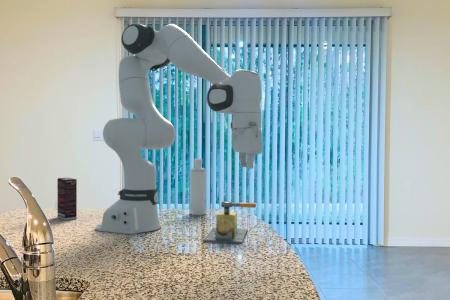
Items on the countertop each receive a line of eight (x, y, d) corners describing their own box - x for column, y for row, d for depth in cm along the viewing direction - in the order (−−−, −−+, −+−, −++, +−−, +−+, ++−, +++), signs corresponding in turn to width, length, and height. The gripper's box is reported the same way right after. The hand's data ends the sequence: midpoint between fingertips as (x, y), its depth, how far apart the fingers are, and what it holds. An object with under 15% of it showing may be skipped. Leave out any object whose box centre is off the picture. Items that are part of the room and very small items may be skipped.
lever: (220, 207, 125) (220, 202, 125) (222, 205, 129) (222, 201, 129) (255, 208, 124) (255, 204, 123) (256, 206, 127) (256, 202, 127)
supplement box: (77, 219, 153) (77, 178, 152) (64, 220, 150) (64, 179, 149) (69, 215, 159) (68, 177, 159) (56, 217, 156) (56, 178, 155)
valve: (203, 242, 120) (203, 211, 119) (213, 229, 136) (213, 202, 136) (241, 244, 118) (242, 212, 117) (247, 231, 134) (247, 203, 134)
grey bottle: (187, 214, 164) (187, 155, 163) (195, 211, 170) (195, 154, 169) (200, 215, 161) (200, 155, 160) (208, 213, 167) (208, 155, 166)
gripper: (268, 121, 110) (267, 170, 110) (247, 124, 130) (247, 165, 130) (246, 121, 108) (246, 170, 109) (229, 123, 128) (228, 165, 128)
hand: (246, 167), depth 119 cm, fingers open, 5 cm apart
